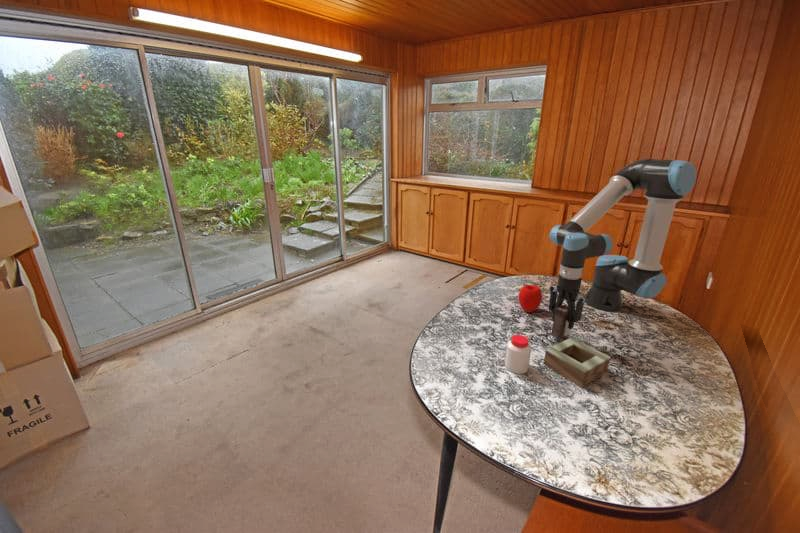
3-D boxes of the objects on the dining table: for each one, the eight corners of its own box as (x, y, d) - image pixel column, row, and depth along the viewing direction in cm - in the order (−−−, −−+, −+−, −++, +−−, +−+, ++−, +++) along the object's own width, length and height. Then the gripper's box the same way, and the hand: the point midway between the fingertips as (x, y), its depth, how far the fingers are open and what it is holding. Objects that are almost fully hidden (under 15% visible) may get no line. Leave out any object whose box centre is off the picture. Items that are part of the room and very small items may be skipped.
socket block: (568, 351, 127) (571, 337, 125) (606, 372, 116) (610, 357, 113) (543, 363, 120) (546, 349, 118) (581, 387, 109) (584, 371, 107)
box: (561, 340, 131) (565, 312, 126) (550, 335, 134) (554, 307, 130) (571, 335, 134) (575, 307, 129) (560, 330, 137) (564, 303, 133)
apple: (530, 303, 162) (534, 279, 158) (545, 313, 153) (549, 288, 149) (512, 307, 159) (515, 282, 155) (526, 317, 150) (529, 291, 146)
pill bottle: (511, 356, 124) (515, 330, 120) (532, 366, 119) (536, 339, 115) (500, 366, 119) (503, 339, 115) (521, 377, 114) (525, 348, 110)
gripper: (542, 270, 130) (535, 324, 139) (586, 286, 116) (575, 345, 125) (555, 266, 133) (548, 319, 142) (600, 281, 119) (588, 339, 128)
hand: (561, 331), depth 133 cm, fingers closed on box, 4 cm apart
